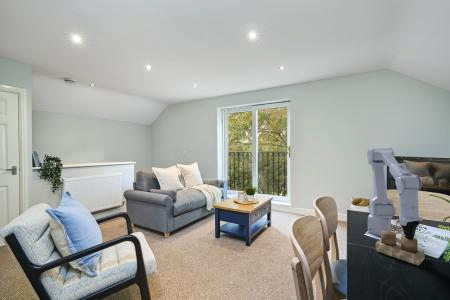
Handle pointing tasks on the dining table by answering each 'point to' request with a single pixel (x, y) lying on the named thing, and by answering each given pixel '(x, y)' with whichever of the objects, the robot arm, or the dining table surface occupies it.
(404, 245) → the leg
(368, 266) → the dining table surface
